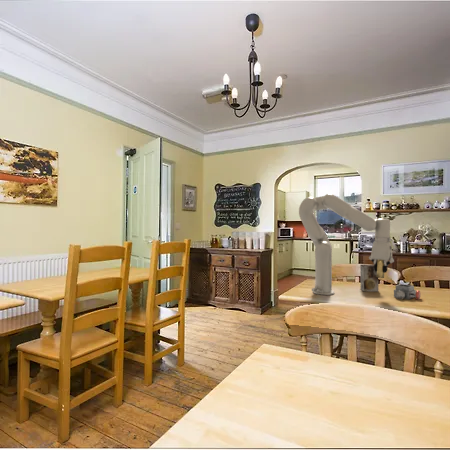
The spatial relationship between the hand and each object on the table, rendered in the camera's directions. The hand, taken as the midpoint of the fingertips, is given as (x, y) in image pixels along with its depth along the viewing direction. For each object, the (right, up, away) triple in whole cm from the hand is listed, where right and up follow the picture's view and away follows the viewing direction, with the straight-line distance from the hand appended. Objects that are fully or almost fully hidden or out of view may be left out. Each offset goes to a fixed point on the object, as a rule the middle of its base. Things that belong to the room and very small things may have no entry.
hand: (380, 271), depth 176 cm
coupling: (0, -3, 0) cm, 3 cm away
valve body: (+15, -15, -1) cm, 22 cm away
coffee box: (+2, -15, +18) cm, 23 cm away
